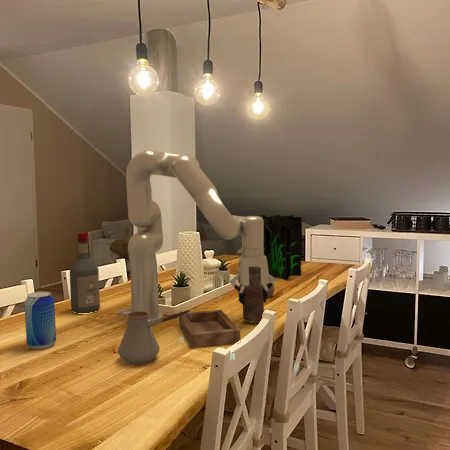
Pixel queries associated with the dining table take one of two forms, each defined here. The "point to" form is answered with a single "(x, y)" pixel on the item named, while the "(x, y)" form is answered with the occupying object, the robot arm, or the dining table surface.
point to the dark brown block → (253, 297)
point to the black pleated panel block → (283, 245)
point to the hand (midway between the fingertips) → (253, 302)
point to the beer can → (40, 320)
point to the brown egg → (270, 291)
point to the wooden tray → (209, 328)
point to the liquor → (84, 280)
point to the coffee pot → (141, 338)
